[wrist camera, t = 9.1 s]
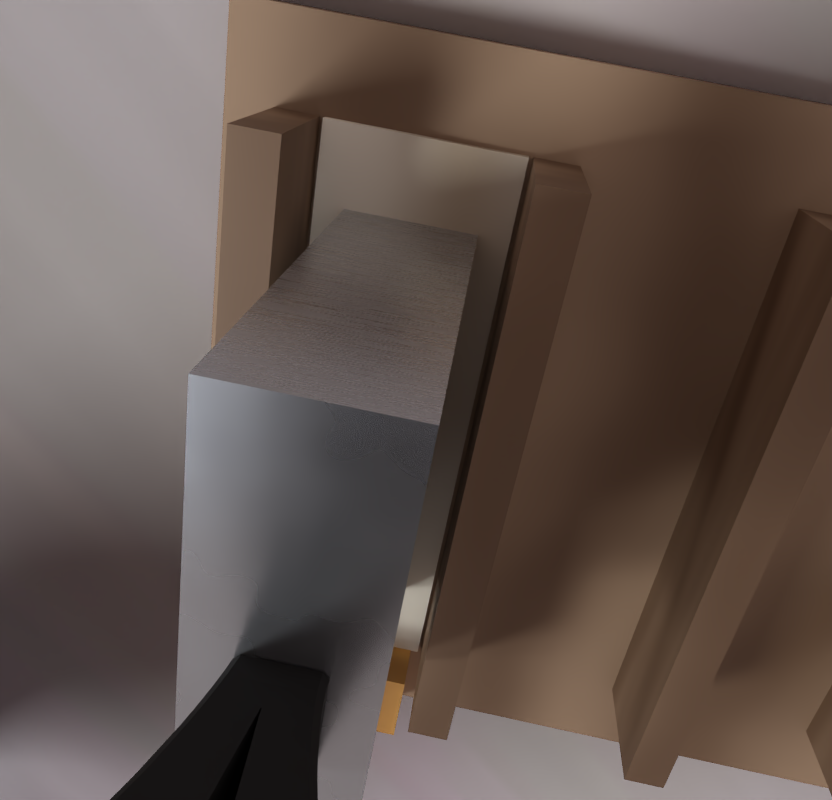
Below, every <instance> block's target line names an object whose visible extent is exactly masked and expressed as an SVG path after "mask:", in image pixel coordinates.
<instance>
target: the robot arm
mask: <svg viewBox="0 0 832 800" xmlns="http://www.w3.org/2000/svg"><path fill="white" fill-rule="evenodd" d="M328 686H329V679H328V678H327V677H326V675H325V674H324V673H323V672H319V671H315V670H310V669H306V668H301V667H296V666H292V665H287V664H283V663H278V662H274V661H269V660H264V659H260V658H255V657H251V656H246V655H242V654H241V655H239V656H237V657H235V658H233V659H232V660H231V662H230V663H229V665H228V666H227V667H226V669H225V670H224V672H223V673H222V674H221V676H220V677H219V678H218V680H217V681H216V682H215V684H214V685H213V686H212V687H211V689H210V690H209V691H208V692H207V694H206V695H205V696H204V697H203V699H202V700H201V701H200V702H199V704H198V705H197V706H196V707H195V708H194V710H193V711H192V712H191V713H190V714H189V715H188V717H187V718H186V719H185V720H184V721H183V722H182V724H181V725H180V726H179V727H178V728H177V729H176V731H175V732H174V733H173V734H172V735H171V736H170V737H169V738H168V739H167V740H166V741H165V743H164V744H163V745H162V746H161V747H160V748H159V749H158V750H157V751H156V752H155V754H154V755H153V756H152V757H151V758H150V759H149V760H148V761H147V762H146V763H145V764H144V766H143V767H142V768H141V769H140V770H139V771H138V772H137V773H136V774H135V775H134V776H133V777H132V778H131V779H130V780H129V781H128V782H127V783H126V784H125V785H124V786H123V787H122V788H121V789H120V790H119V791H118V792H117V793H116V794H115V795H114V796H113V797H112V798H111V799H110V800H318V781H317V780H318V750H319V742H320V735H321V729H322V723H323V717H324V710H325V704H326V698H327V692H328Z"/></svg>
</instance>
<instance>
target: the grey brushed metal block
mask: <svg viewBox="0 0 832 800" xmlns="http://www.w3.org/2000/svg"><path fill="white" fill-rule="evenodd" d="M477 237H478V235H474V234H468V233H463V232H458V231H453V230H448V229H443V228H438V227H433V226H428V225H423V224H418V223H413V222H408V221H403V220H398V219H393V218H387V217H382V216H377V215H372V214H367V213H362V212H357V211H352V210H347V209H344V210H343V211H342V212H341V213H340V214H339V215H338V216H337V217H336V218H335V219H334V220H333V221H332V222H331V223H330V224H329V225H328V226H327V228H326V229H325V230H324V231H323V232H322V233H321V234H320V235H319V236H318V237H317V238H316V239H315V240H314V241H313V242H312V243H311V244H310V246H309V247H308V248H307V249H306V250H305V251H304V252H303V253H302V254H301V255H300V256H299V257H298V258H297V259H296V260H295V261H294V262H293V264H292V265H291V266H290V267H289V268H288V269H287V270H286V271H285V272H284V273H283V274H282V275H281V276H280V277H279V278H278V279H277V280H276V282H275V283H274V284H273V285H272V286H271V287H270V288H269V289H268V290H267V291H266V292H265V293H264V294H263V295H262V296H261V297H260V298H259V300H258V301H257V302H256V303H255V304H254V305H253V306H252V307H251V308H250V309H249V310H248V311H247V312H246V313H245V314H244V315H243V316H242V318H241V319H240V320H239V321H238V322H237V323H236V324H235V325H234V326H233V327H232V328H231V329H230V330H229V331H228V332H227V333H226V334H225V336H224V337H223V338H222V339H221V340H220V341H219V342H218V343H217V344H216V345H215V346H214V347H213V348H212V349H211V350H210V351H209V352H208V354H207V355H206V356H205V357H204V358H203V359H202V360H201V361H200V362H199V363H198V364H197V365H196V366H195V367H194V368H193V369H192V371H191V372H190V373H189V374H188V399H187V425H186V451H185V477H184V502H183V528H182V554H181V580H180V606H179V632H178V658H177V684H176V710H175V731H176V729H177V728H178V727H179V726H180V725H181V724H182V722H183V721H184V720H185V719H186V718H187V717H188V715H189V714H190V713H191V712H192V711H193V710H194V708H195V707H196V706H197V705H198V704H199V702H200V701H201V700H202V699H203V697H204V696H205V695H206V694H207V692H208V691H209V690H210V689H211V687H212V686H213V685H214V684H215V682H216V681H217V680H218V678H219V677H220V676H221V674H222V673H223V672H224V670H225V669H226V667H227V666H228V665H229V663H230V662H231V660H232V659H233V658H235V657H237V656H239V655H241V654H242V655H246V656H251V657H255V658H260V659H264V660H269V661H274V662H278V663H283V664H287V665H292V666H296V667H301V668H306V669H310V670H315V671H319V672H323V673H324V674H325V675H326V677H327V678H328V679H329V686H328V692H327V698H326V704H325V710H324V717H323V723H322V729H321V735H320V742H319V750H318V780H317V781H318V800H362V798H363V793H364V788H365V783H366V778H367V773H368V769H369V764H370V759H371V754H372V749H373V744H374V739H375V735H376V730H377V725H378V720H379V715H380V710H381V705H382V701H383V696H384V691H385V686H386V681H387V676H388V671H389V667H390V662H391V657H392V652H393V647H394V642H395V637H396V633H397V628H398V623H399V618H400V613H401V608H402V603H403V599H404V594H405V589H406V584H407V579H408V574H409V569H410V565H411V560H412V555H413V550H414V545H415V540H416V536H417V531H418V526H419V521H420V516H421V511H422V506H423V502H424V497H425V492H426V487H427V482H428V477H429V472H430V468H431V463H432V458H433V453H434V448H435V443H436V438H437V434H438V429H439V424H440V419H441V414H442V409H443V404H444V399H445V394H446V390H447V385H448V380H449V375H450V370H451V365H452V360H453V355H454V350H455V345H456V340H457V336H458V331H459V326H460V321H461V316H462V311H463V306H464V301H465V296H466V291H467V286H468V282H469V277H470V272H471V267H472V262H473V257H474V252H475V247H476V242H477Z"/></svg>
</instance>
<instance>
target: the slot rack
mask: <svg viewBox="0 0 832 800" xmlns="http://www.w3.org/2000/svg"><path fill="white" fill-rule="evenodd" d="M344 209H347V210H352V211H357V212H362V213H367V214H372V215H377V216H382V217H387V218H393V219H398V220H403V221H408V222H413V223H418V224H423V225H428V226H433V227H438V228H443V229H448V230H453V231H458V232H463V233H468V234H474V235H478V237H477V242H476V247H475V252H474V257H473V262H472V267H471V272H470V277H469V282H468V286H467V291H466V296H465V301H464V306H463V311H462V316H461V321H460V326H459V331H458V336H457V340H456V345H455V350H454V355H453V360H452V365H451V370H450V375H449V380H448V385H447V390H446V394H445V399H444V404H443V409H442V414H441V419H440V424H439V429H438V434H437V438H436V443H435V448H434V453H433V458H432V463H431V468H430V472H429V477H428V482H427V487H426V492H425V497H424V502H423V506H422V511H421V516H420V521H419V526H418V531H417V536H416V540H415V545H414V550H413V555H412V560H411V565H410V569H409V574H408V579H407V584H406V589H405V594H404V599H403V603H402V608H401V613H400V618H399V623H398V628H397V633H396V637H395V642H394V647H393V652H392V657H391V662H390V667H389V671H388V676H387V681H386V686H385V691H384V696H383V701H382V705H381V710H380V715H379V720H378V725H377V730H376V731H378V732H383V733H387V734H392V735H394V730H395V726H396V721H397V717H398V712H399V708H400V703H401V699H402V695H406V696H410V697H414V699H413V705H412V711H411V718H410V724H409V730H408V732H413V733H417V734H422V735H426V736H431V737H435V738H440V739H444V740H447V736H448V733H449V729H450V725H451V721H452V718H453V714H454V710H455V706H456V707H460V708H465V709H469V710H474V711H479V712H483V713H488V714H492V715H497V716H501V717H506V718H511V719H515V720H520V721H524V722H529V723H533V724H538V725H543V726H547V727H552V728H556V729H561V730H565V731H570V732H574V733H579V734H584V735H588V736H593V737H597V738H602V739H606V740H611V741H616V742H619V744H620V751H621V759H622V766H623V773H624V779H625V780H630V781H635V782H639V783H644V784H648V785H653V786H657V787H662V788H663V787H664V785H665V783H666V781H667V779H668V777H669V775H670V772H671V770H672V768H673V766H674V764H675V762H676V760H677V757H678V755H679V756H684V757H689V758H693V759H698V760H702V761H707V762H711V763H716V764H720V765H725V766H730V767H734V768H739V769H743V770H748V771H752V772H757V773H762V774H766V775H771V776H775V777H780V778H784V779H789V780H794V781H798V782H803V783H807V784H812V785H816V786H821V787H825V788H829V790H830V793H831V795H832V105H828V104H823V103H818V102H813V101H807V100H802V99H797V98H791V97H786V96H781V95H776V94H770V93H765V92H760V91H754V90H749V89H744V88H738V87H733V86H728V85H723V84H717V83H712V82H707V81H701V80H696V79H691V78H685V77H680V76H675V75H670V74H664V73H659V72H654V71H648V70H643V69H638V68H633V67H627V66H622V65H617V64H611V63H606V62H601V61H595V60H590V59H585V58H580V57H574V56H569V55H564V54H558V53H553V52H548V51H543V50H537V49H532V48H527V47H521V46H516V45H511V44H505V43H500V42H495V41H490V40H484V39H479V38H474V37H468V36H463V35H458V34H452V33H447V32H442V31H437V30H431V29H426V28H421V27H415V26H410V25H405V24H400V23H394V22H389V21H384V20H378V19H373V18H368V17H362V16H357V15H352V14H347V13H341V12H336V11H331V10H325V9H320V8H315V7H309V6H304V5H299V4H294V3H288V2H283V1H278V0H229V18H228V37H227V56H226V75H225V95H224V114H223V133H222V152H221V171H220V190H219V209H218V228H217V247H216V266H215V285H214V304H213V323H212V342H211V349H212V348H213V347H214V346H215V345H216V344H217V343H218V342H219V341H220V340H221V339H222V338H223V337H224V336H225V334H226V333H227V332H228V331H229V330H230V329H231V328H232V327H233V326H234V325H235V324H236V323H237V322H238V321H239V320H240V319H241V318H242V316H243V315H244V314H245V313H246V312H247V311H248V310H249V309H250V308H251V307H252V306H253V305H254V304H255V303H256V302H257V301H258V300H259V298H260V297H261V296H262V295H263V294H264V293H265V292H266V291H267V290H268V289H269V288H270V287H271V286H272V285H273V284H274V283H275V282H276V280H277V279H278V278H279V277H280V276H281V275H282V274H283V273H284V272H285V271H286V270H287V269H288V268H289V267H290V266H291V265H292V264H293V262H294V261H295V260H296V259H297V258H298V257H299V256H300V255H301V254H302V253H303V252H304V251H305V250H306V249H307V248H308V247H309V246H310V244H311V243H312V242H313V241H314V240H315V239H316V238H317V237H318V236H319V235H320V234H321V233H322V232H323V231H324V230H325V229H326V228H327V226H328V225H329V224H330V223H331V222H332V221H333V220H334V219H335V218H336V217H337V216H338V215H339V214H340V213H341V212H342V211H343V210H344Z"/></svg>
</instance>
